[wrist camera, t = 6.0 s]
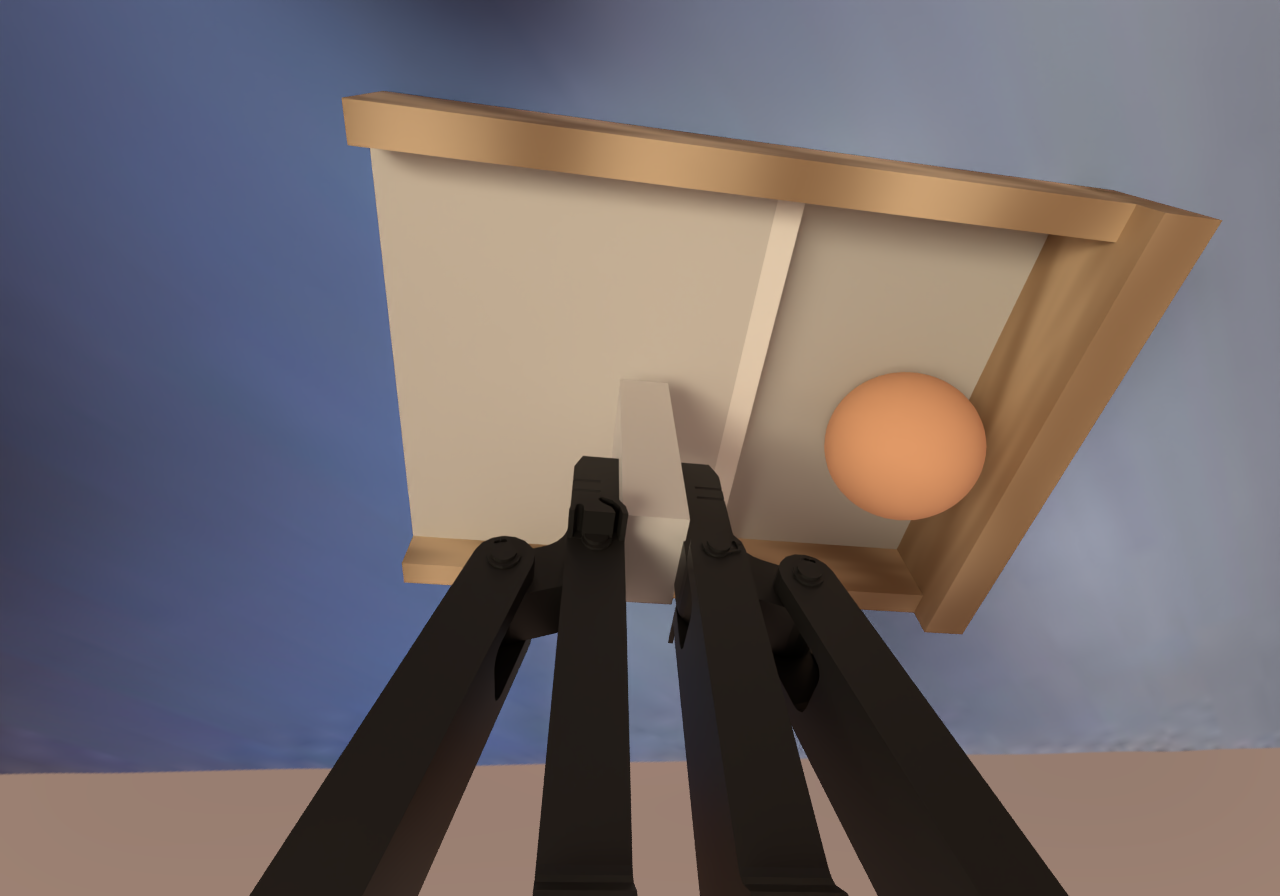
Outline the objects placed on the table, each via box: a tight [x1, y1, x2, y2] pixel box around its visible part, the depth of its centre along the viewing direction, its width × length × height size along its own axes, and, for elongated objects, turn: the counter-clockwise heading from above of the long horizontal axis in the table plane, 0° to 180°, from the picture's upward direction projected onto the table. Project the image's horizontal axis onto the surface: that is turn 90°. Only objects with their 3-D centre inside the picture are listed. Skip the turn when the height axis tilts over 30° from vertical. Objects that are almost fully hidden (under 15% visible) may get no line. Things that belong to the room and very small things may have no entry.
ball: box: [824, 372, 987, 520], centre depth 20 cm, size 5×5×5 cm
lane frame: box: [342, 91, 1222, 634], centre depth 20 cm, size 22×16×4 cm
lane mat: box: [370, 148, 1049, 549], centre depth 21 cm, size 20×14×2 cm
